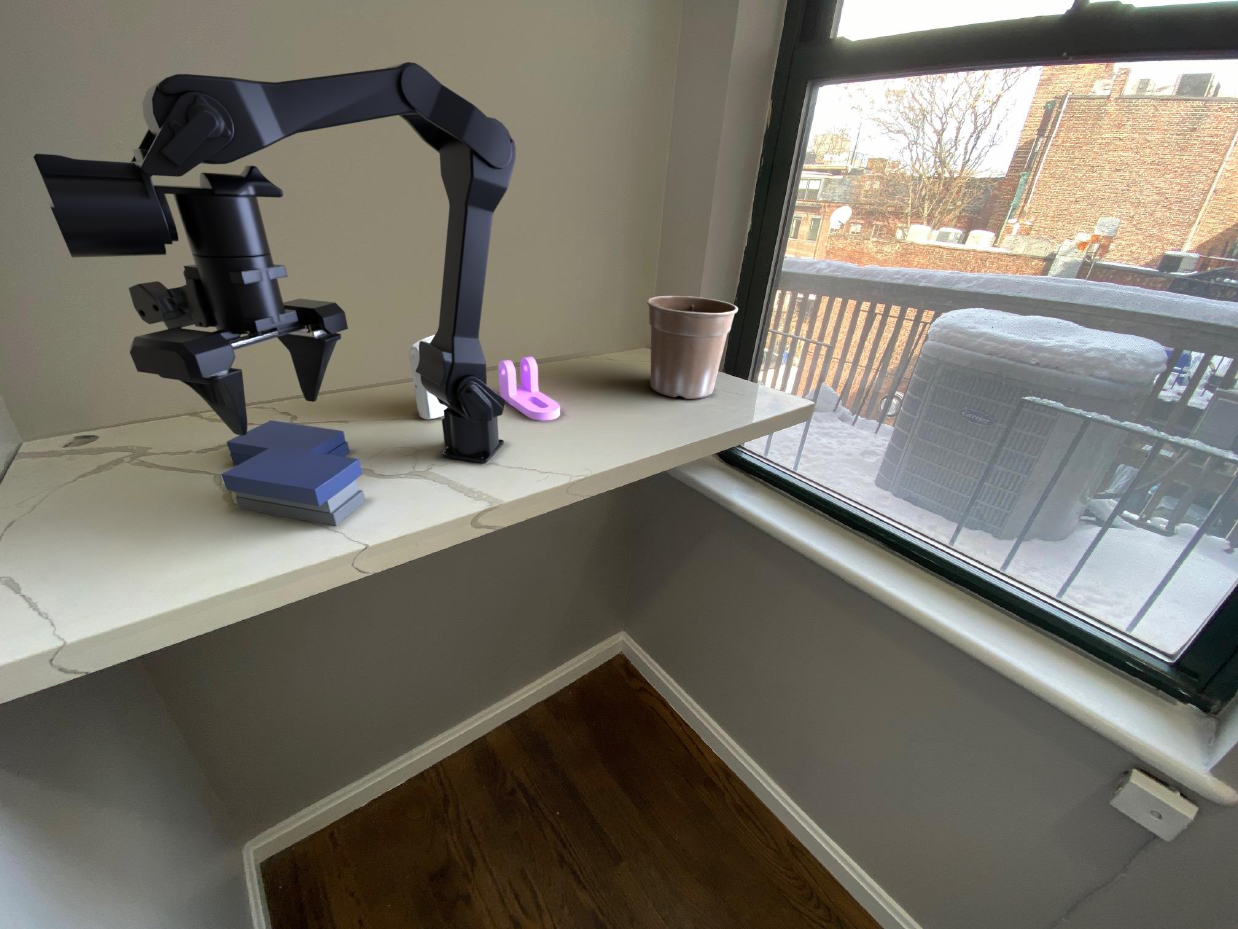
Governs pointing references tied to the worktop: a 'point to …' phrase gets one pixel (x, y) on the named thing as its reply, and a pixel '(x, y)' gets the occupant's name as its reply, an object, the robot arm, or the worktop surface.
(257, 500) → the grey books
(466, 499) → the worktop surface
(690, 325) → the plant pot
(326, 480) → the navy book
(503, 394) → the bracket
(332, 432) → the navy books
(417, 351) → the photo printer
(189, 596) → the worktop surface
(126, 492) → the worktop surface
